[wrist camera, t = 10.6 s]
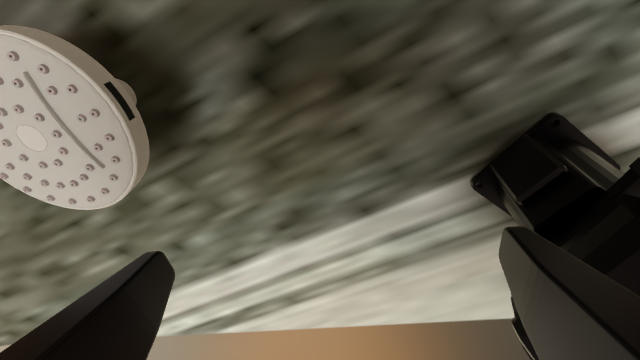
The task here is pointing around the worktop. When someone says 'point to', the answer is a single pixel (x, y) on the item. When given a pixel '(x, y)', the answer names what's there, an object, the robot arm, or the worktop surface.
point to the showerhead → (66, 123)
